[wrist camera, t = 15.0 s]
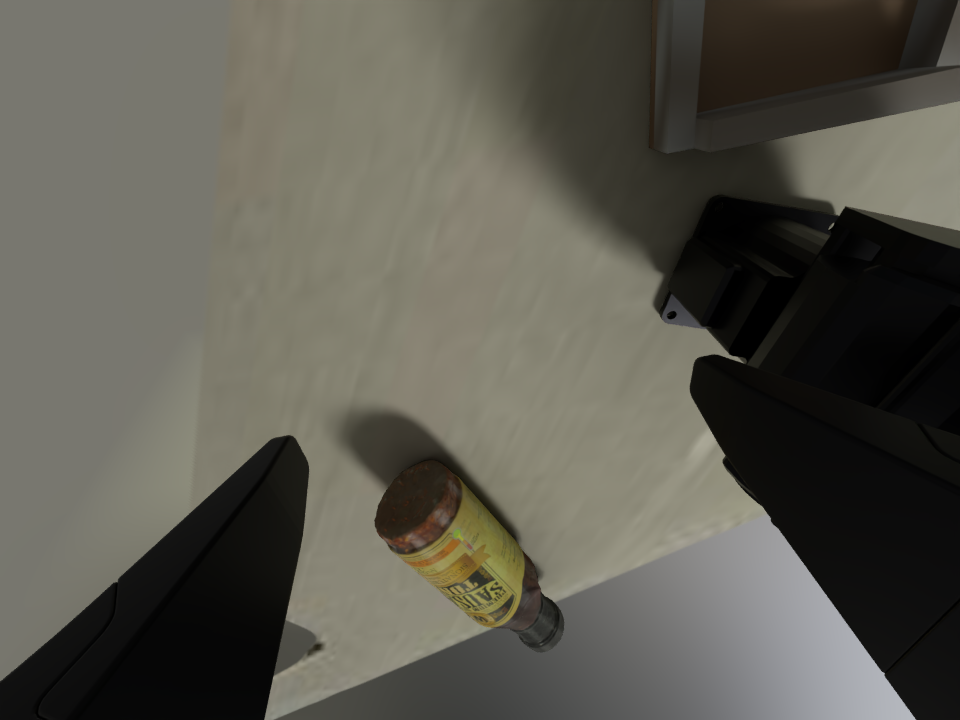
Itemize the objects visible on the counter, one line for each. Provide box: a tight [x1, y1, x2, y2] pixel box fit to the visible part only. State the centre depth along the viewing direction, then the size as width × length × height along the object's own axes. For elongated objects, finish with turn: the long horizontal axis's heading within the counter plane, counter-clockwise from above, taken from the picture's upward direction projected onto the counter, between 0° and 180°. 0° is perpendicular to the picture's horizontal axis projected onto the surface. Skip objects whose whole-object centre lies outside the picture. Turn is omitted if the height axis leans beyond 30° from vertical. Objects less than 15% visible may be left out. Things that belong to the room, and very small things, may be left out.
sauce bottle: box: [374, 460, 564, 652], centre depth 31 cm, size 7×6×20 cm
